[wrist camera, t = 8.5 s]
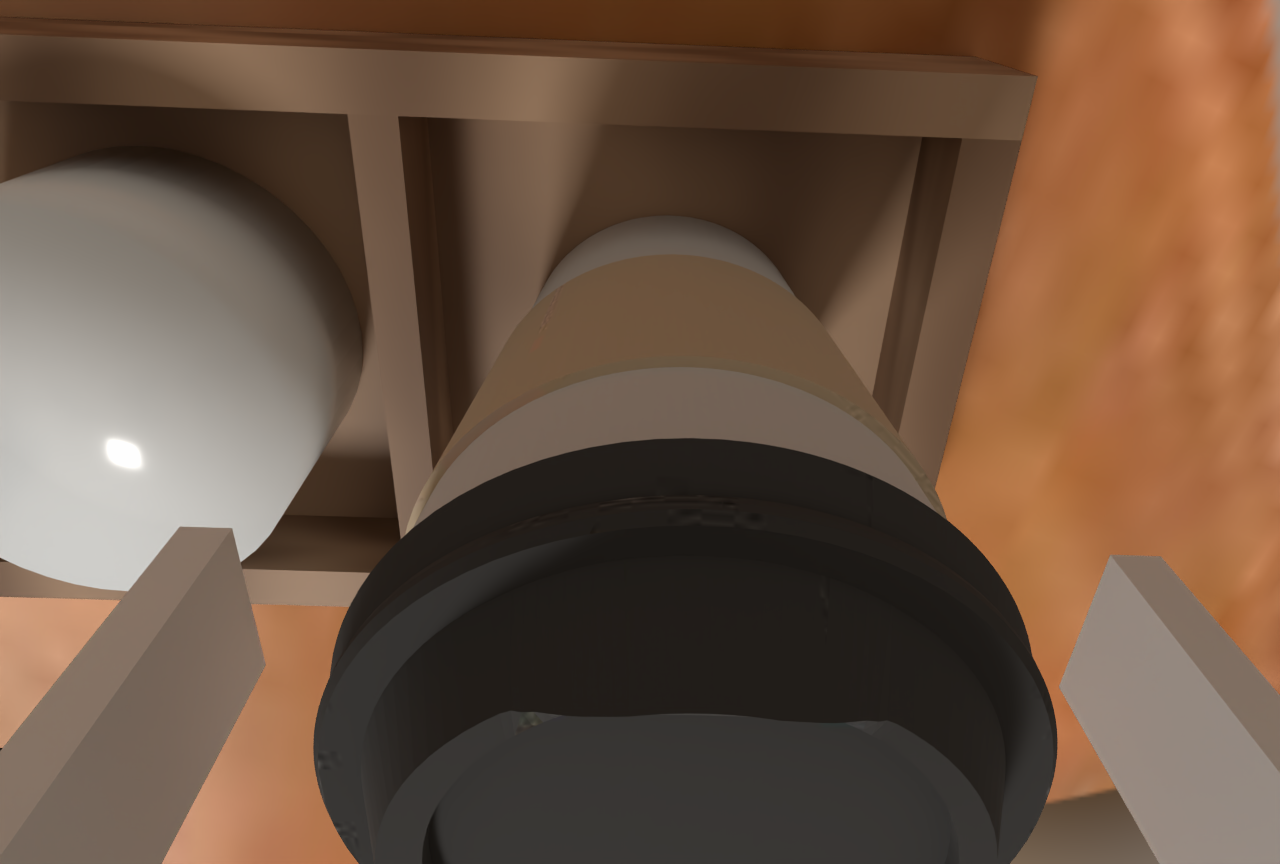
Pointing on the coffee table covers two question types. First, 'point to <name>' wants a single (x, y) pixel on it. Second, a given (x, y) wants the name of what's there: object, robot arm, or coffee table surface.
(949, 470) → the coffee table surface
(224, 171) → the white ceramic dome
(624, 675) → the coffee cup
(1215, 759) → the robot arm
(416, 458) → the box
